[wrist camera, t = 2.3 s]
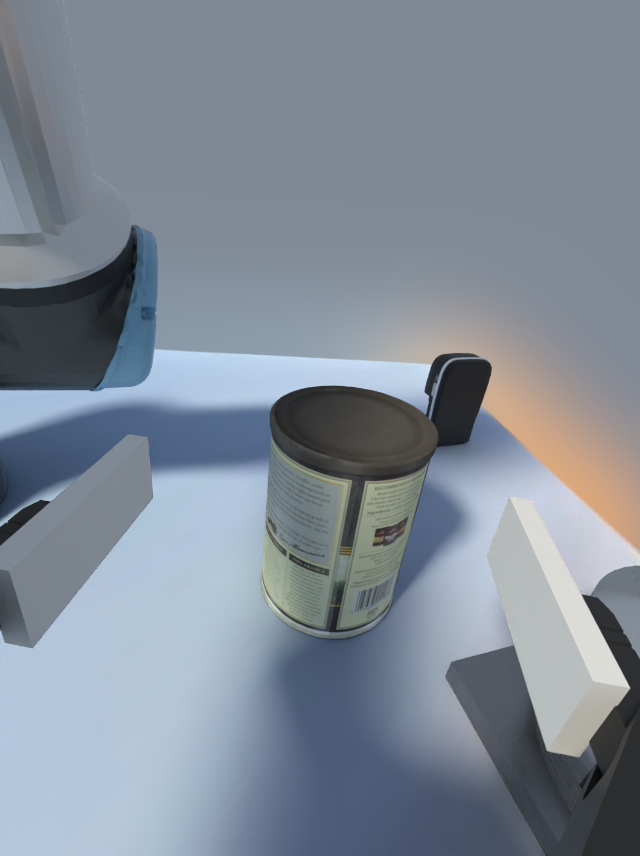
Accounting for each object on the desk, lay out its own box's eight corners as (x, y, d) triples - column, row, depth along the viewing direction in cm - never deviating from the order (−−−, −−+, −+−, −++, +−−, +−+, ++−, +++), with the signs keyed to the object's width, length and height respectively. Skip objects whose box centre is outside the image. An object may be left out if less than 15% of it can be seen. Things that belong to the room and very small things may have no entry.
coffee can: (305, 517, 39) (324, 372, 32) (411, 569, 35) (458, 416, 28) (229, 591, 31) (233, 419, 24) (356, 670, 27) (402, 489, 20)
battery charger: (452, 429, 58) (476, 349, 53) (470, 443, 55) (498, 360, 50) (408, 433, 56) (429, 349, 50) (425, 449, 53) (449, 361, 47)
